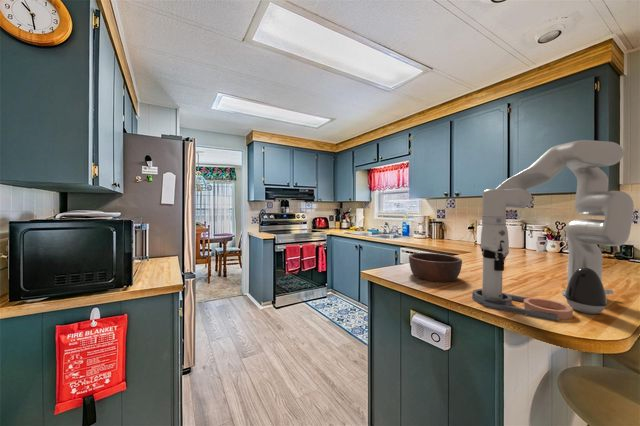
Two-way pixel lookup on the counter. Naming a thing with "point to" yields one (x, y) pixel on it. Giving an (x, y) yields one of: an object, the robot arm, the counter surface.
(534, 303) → the marked socket
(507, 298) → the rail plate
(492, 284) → the travel mug
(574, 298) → the dark gray tall dome
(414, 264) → the wooden bowl
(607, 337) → the counter surface
